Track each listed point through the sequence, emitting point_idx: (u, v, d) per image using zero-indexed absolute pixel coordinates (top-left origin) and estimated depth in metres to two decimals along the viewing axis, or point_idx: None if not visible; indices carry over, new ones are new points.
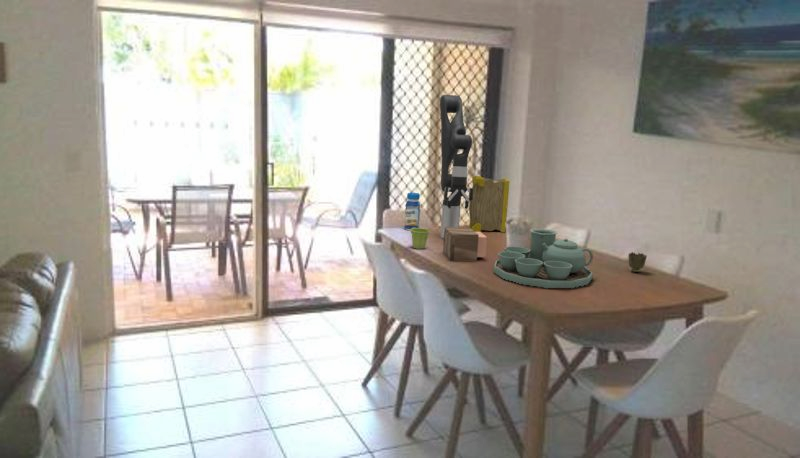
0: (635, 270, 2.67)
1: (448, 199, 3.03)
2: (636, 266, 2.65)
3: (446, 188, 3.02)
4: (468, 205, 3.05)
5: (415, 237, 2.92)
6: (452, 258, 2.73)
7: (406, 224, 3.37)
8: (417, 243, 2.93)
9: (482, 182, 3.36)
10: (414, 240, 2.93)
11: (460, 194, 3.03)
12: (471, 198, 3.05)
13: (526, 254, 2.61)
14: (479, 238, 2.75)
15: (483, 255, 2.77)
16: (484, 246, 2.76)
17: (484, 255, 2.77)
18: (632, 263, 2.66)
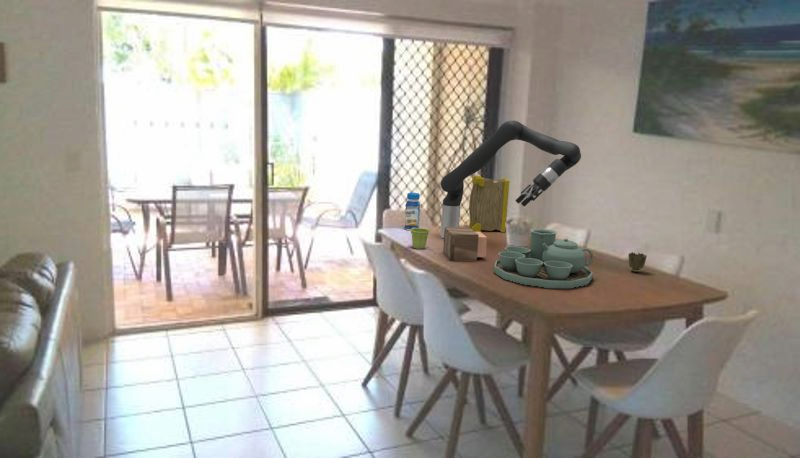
0: (635, 270, 2.67)
1: None
2: (636, 266, 2.65)
3: None
4: None
5: (415, 237, 2.92)
6: (452, 258, 2.73)
7: (406, 224, 3.37)
8: (417, 243, 2.93)
9: (482, 182, 3.36)
10: (414, 240, 2.93)
11: None
12: None
13: (526, 254, 2.61)
14: (479, 238, 2.75)
15: (483, 255, 2.77)
16: (484, 246, 2.76)
17: (484, 255, 2.77)
18: (632, 263, 2.66)
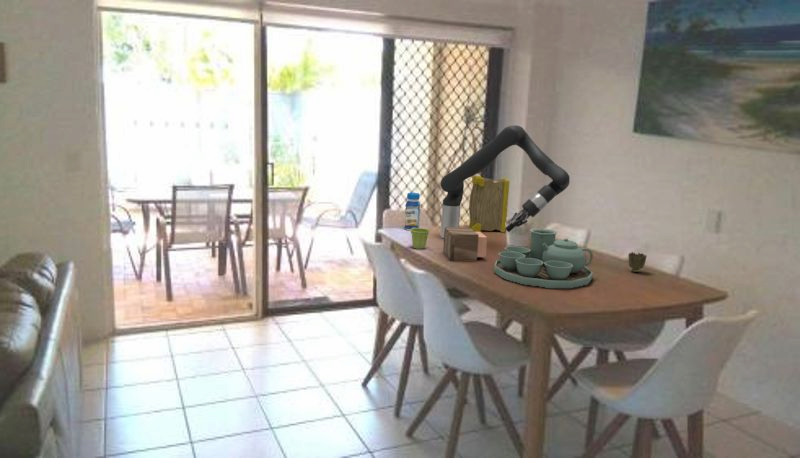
0: (635, 270, 2.67)
1: (515, 226, 2.82)
2: (636, 266, 2.65)
3: (526, 221, 2.77)
4: None
5: (415, 237, 2.92)
6: (452, 258, 2.73)
7: (406, 224, 3.37)
8: (417, 243, 2.93)
9: (482, 182, 3.36)
10: (414, 240, 2.93)
11: None
12: None
13: (526, 254, 2.61)
14: (479, 238, 2.75)
15: (483, 255, 2.77)
16: (484, 246, 2.76)
17: (484, 255, 2.77)
18: (632, 263, 2.66)
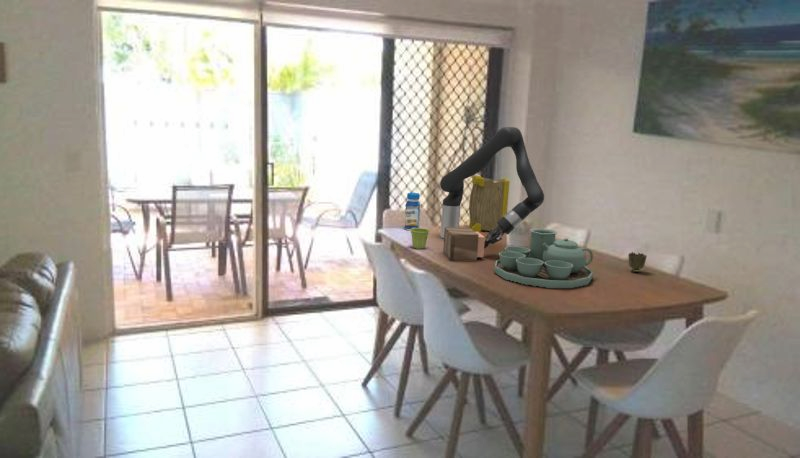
0: (635, 270, 2.67)
1: None
2: (636, 266, 2.65)
3: (500, 239, 2.77)
4: None
5: (415, 237, 2.92)
6: (452, 258, 2.73)
7: (406, 224, 3.37)
8: (417, 243, 2.93)
9: (482, 182, 3.36)
10: (414, 240, 2.93)
11: None
12: None
13: (526, 254, 2.61)
14: None
15: (481, 255, 2.77)
16: (482, 246, 2.76)
17: (482, 255, 2.77)
18: (632, 263, 2.66)
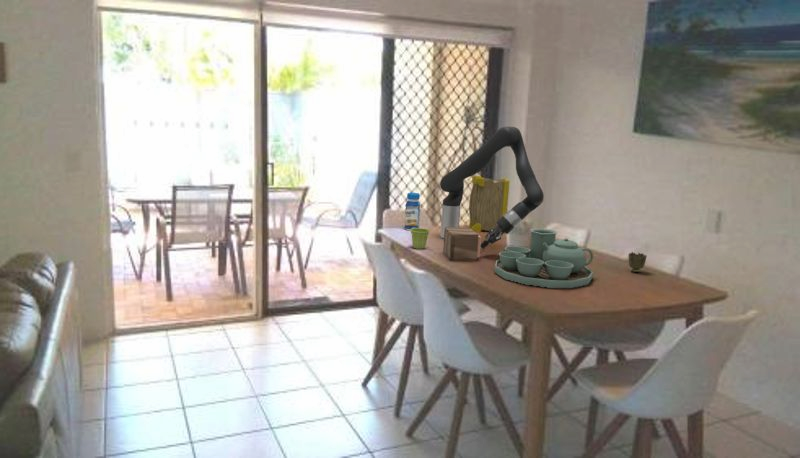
0: (635, 270, 2.67)
1: (490, 243, 2.81)
2: (636, 266, 2.65)
3: None
4: None
5: (415, 237, 2.92)
6: (452, 258, 2.73)
7: (406, 224, 3.37)
8: (417, 243, 2.93)
9: (482, 182, 3.36)
10: (414, 240, 2.93)
11: None
12: None
13: (526, 254, 2.61)
14: None
15: (477, 255, 2.77)
16: (478, 246, 2.76)
17: (479, 255, 2.77)
18: (632, 263, 2.66)
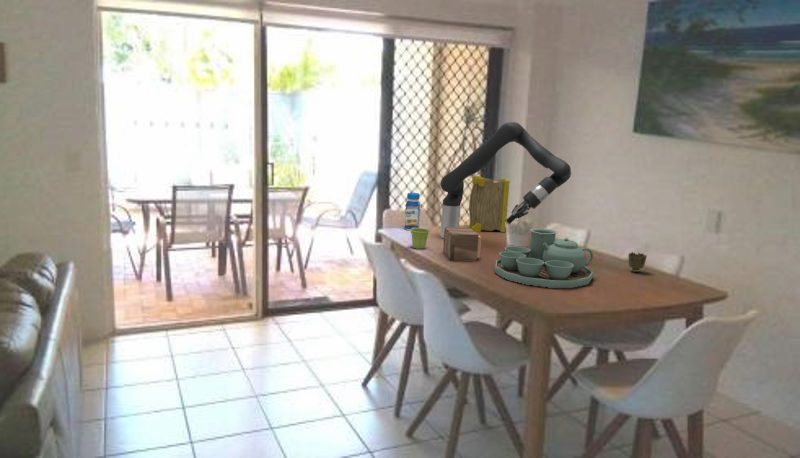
0: (635, 270, 2.67)
1: (516, 218, 2.81)
2: (636, 266, 2.65)
3: (527, 213, 2.76)
4: None
5: (415, 237, 2.92)
6: (452, 258, 2.73)
7: (406, 224, 3.37)
8: (417, 243, 2.93)
9: (482, 182, 3.36)
10: (414, 240, 2.93)
11: None
12: None
13: (526, 254, 2.61)
14: None
15: (477, 255, 2.77)
16: (478, 246, 2.76)
17: (479, 255, 2.77)
18: (632, 263, 2.66)
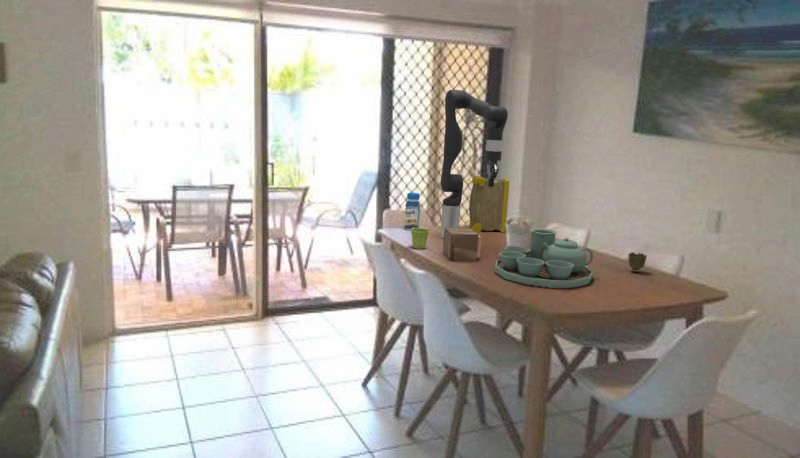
0: (635, 270, 2.67)
1: (494, 178, 2.89)
2: (636, 266, 2.65)
3: None
4: None
5: (415, 237, 2.92)
6: (452, 258, 2.73)
7: (406, 224, 3.37)
8: (417, 243, 2.93)
9: (482, 182, 3.36)
10: (414, 240, 2.93)
11: None
12: None
13: (526, 254, 2.61)
14: None
15: (477, 255, 2.77)
16: (478, 246, 2.76)
17: (479, 255, 2.77)
18: (632, 263, 2.66)
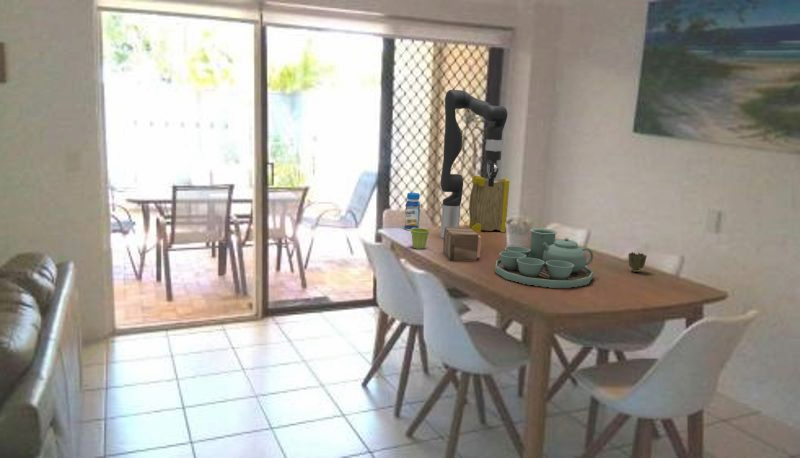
0: (635, 270, 2.67)
1: (494, 178, 2.89)
2: (636, 266, 2.65)
3: None
4: None
5: (415, 237, 2.92)
6: (452, 258, 2.73)
7: (406, 224, 3.37)
8: (417, 243, 2.93)
9: (482, 182, 3.36)
10: (414, 240, 2.93)
11: None
12: None
13: (527, 254, 2.61)
14: None
15: (477, 255, 2.77)
16: (478, 246, 2.76)
17: (479, 255, 2.77)
18: (632, 263, 2.66)
